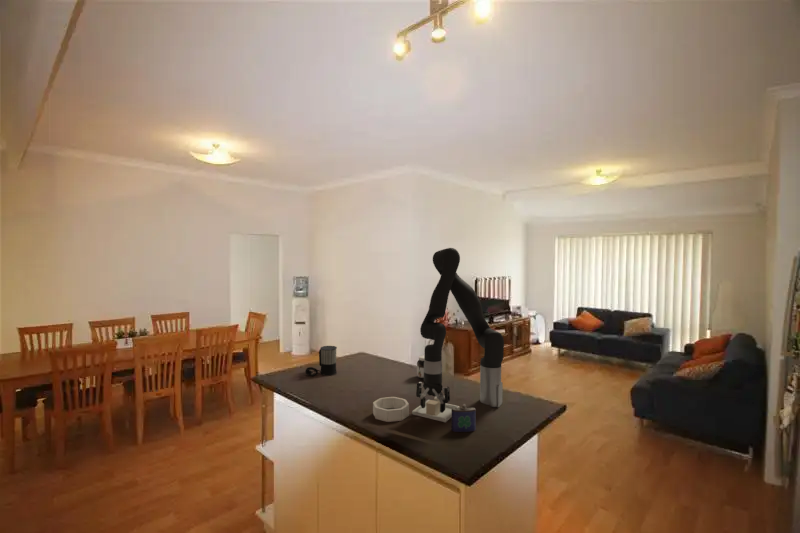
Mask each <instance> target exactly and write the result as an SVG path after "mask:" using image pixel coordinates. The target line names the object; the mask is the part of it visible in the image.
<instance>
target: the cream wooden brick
mask: <svg viewBox="0 0 800 533" xmlns="http://www.w3.org/2000/svg"><path fill="white" fill-rule="evenodd" d="M429 400H430V401H428V402H427V403H426V414H430V415H434V416H437V415H438V414H439V402H438V401H434V399H429Z"/></svg>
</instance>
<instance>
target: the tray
mask: <svg viewBox="0 0 800 533" xmlns="http://www.w3.org/2000/svg"><path fill="white" fill-rule="evenodd" d="M430 400H431V399H427V400H426V403H427V402H428V401H430ZM426 403H425V408H422V407H421V404H420V405H419V406H417V407H416V408H414V409H413V410H412V412H411V414H412V415H413V416H418V417H423V418H426V419H430V420H435V421H437V422H438V421H439V422H443V423H447V422H448V421H449V420H450V419H452V409H453V408H456V407H457V408H458V407H459V408H461V406H459V405H455V404H450V403H446V408H445V411H444V412H443V413H441V412H440V411H439V414H438V415H437V416H434V415H430V414H426Z"/></svg>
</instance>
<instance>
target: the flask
mask: <svg viewBox="0 0 800 533" xmlns="http://www.w3.org/2000/svg"><path fill="white" fill-rule="evenodd" d="M476 412H477V410H476V408H475V407H467V405H466V403H462V406H460V408H459V407H458V408H457V407H456V408H453V409H452V417H451V431H452V432H456V433H457V432H458V433H464V432H465V433H467V432H474V431H477V430H476V429H477V428H476V426H477V424H476V422H477V419H476V416H477V415H476Z"/></svg>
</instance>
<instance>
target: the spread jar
mask: <svg viewBox="0 0 800 533" xmlns="http://www.w3.org/2000/svg"><path fill="white" fill-rule="evenodd" d="M424 360H425V354H423V355H419V356H418V361H417V363H416V375H417V378H418V379H419V380H423V381H424Z"/></svg>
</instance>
